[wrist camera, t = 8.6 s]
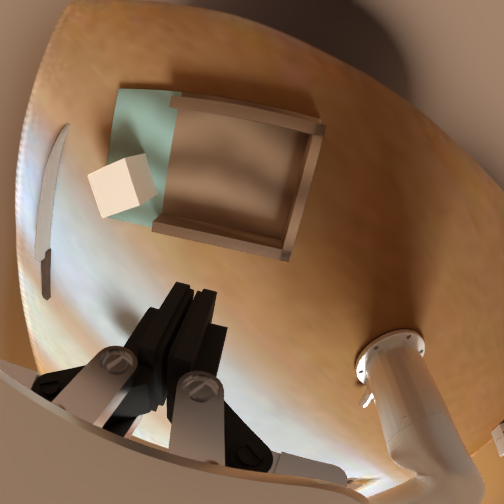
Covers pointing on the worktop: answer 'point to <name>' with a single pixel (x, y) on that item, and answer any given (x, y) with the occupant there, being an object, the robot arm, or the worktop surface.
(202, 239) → the walnut cubby
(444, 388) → the worktop surface
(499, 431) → the skincare box
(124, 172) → the cream block
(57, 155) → the kitchen knife
